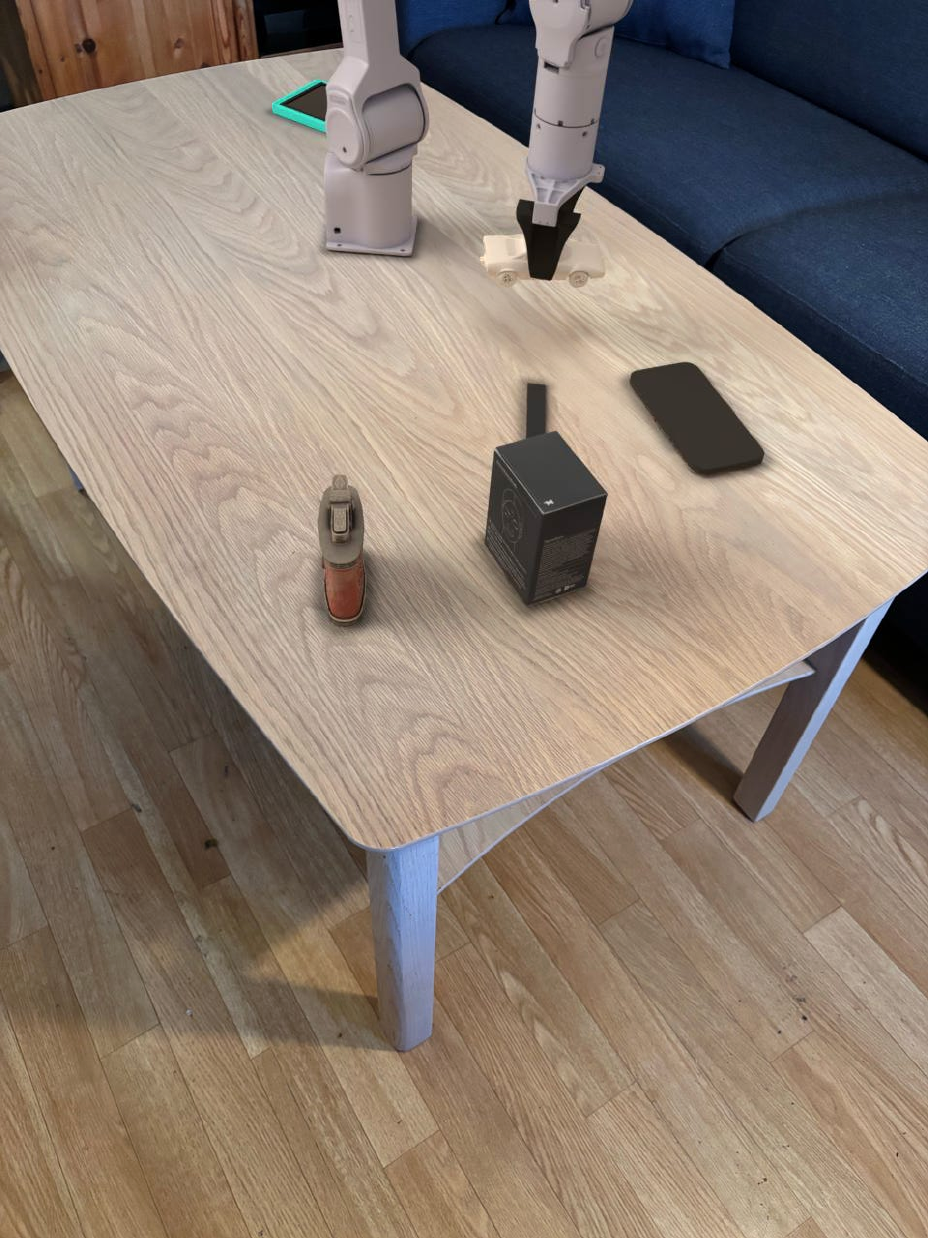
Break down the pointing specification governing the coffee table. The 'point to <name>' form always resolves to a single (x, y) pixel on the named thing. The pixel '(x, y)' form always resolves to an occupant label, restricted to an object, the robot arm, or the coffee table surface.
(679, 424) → the phone
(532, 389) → the tape line
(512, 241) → the toy car
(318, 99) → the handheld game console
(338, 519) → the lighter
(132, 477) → the coffee table surface
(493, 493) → the box
